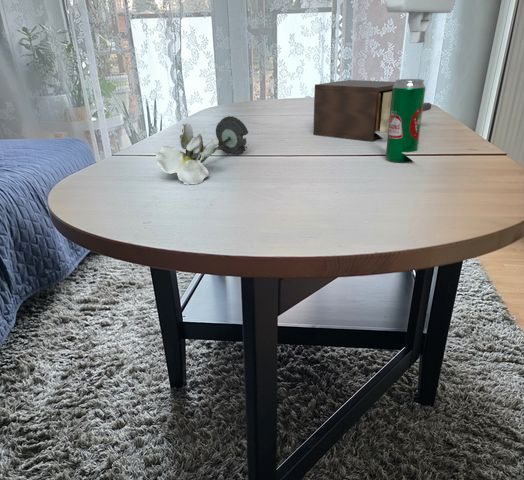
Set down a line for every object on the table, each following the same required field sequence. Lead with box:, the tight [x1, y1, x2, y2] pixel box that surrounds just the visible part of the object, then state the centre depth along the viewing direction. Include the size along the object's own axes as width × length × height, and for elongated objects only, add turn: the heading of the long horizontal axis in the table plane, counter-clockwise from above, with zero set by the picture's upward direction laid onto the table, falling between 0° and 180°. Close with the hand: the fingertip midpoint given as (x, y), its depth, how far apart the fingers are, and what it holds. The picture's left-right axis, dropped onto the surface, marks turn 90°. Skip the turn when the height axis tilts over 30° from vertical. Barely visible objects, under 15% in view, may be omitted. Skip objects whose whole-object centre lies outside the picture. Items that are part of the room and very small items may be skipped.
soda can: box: [385, 78, 426, 164], centre depth 82 cm, size 5×5×12 cm
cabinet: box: [312, 79, 396, 143], centre depth 106 cm, size 15×13×10 cm
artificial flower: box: [155, 115, 249, 186], centre depth 82 cm, size 9×22×10 cm, turn 155°
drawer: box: [375, 90, 432, 137], centre depth 103 cm, size 18×11×8 cm, turn 49°
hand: (417, 42), depth 93 cm, fingers closed
